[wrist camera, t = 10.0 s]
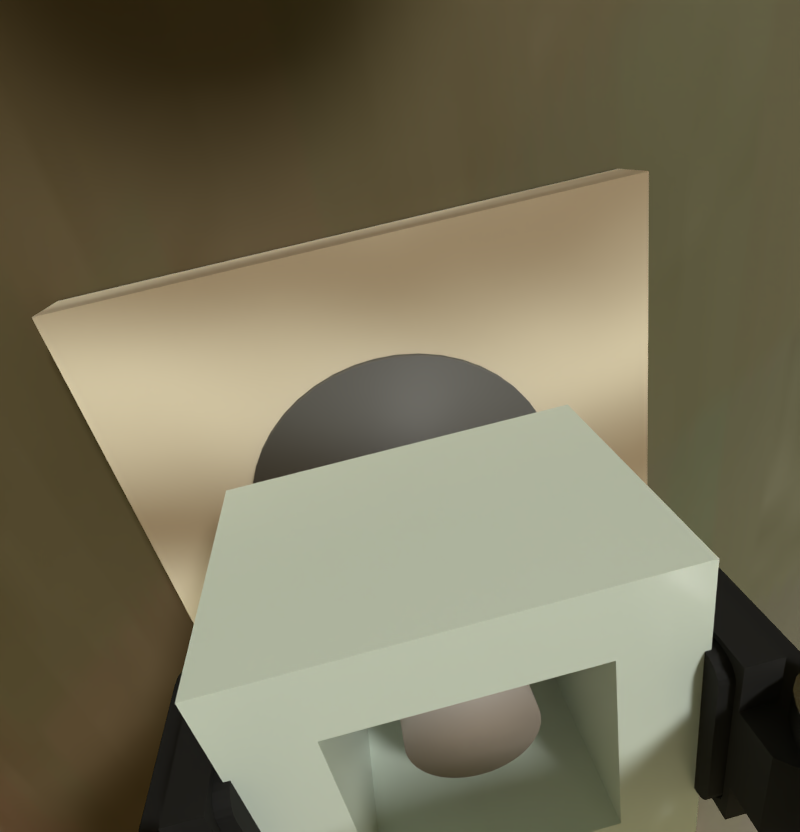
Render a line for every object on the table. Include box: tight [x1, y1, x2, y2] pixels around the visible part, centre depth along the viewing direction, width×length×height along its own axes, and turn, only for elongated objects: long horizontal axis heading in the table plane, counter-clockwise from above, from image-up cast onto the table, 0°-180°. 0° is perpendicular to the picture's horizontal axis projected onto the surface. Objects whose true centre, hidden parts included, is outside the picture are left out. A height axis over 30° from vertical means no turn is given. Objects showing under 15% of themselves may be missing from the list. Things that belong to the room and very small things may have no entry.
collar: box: [175, 405, 719, 832], centre depth 9 cm, size 6×6×4 cm
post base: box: [32, 169, 649, 778], centre depth 11 cm, size 12×12×7 cm
